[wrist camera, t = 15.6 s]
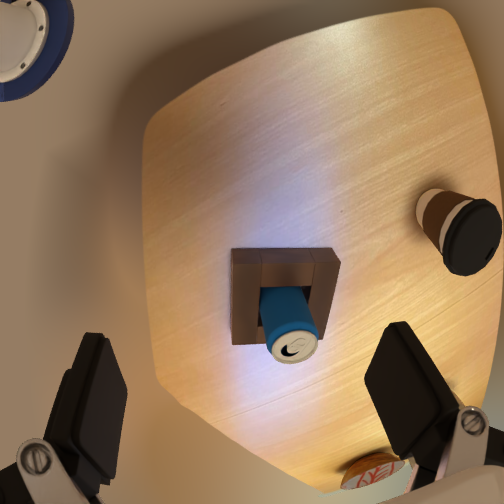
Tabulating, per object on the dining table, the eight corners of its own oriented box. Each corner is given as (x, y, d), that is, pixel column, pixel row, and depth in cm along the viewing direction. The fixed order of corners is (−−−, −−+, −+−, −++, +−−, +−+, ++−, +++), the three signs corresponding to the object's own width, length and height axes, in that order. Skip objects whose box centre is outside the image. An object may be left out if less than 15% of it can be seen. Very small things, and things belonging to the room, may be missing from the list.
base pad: (230, 327, 49) (231, 345, 45) (231, 248, 42) (232, 263, 38) (316, 323, 50) (322, 339, 47) (331, 247, 43) (341, 262, 40)
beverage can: (247, 293, 46) (256, 353, 35) (278, 263, 44) (297, 320, 33) (278, 313, 48) (293, 372, 38) (308, 287, 46) (331, 343, 36)
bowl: (322, 470, 88) (327, 488, 81) (384, 439, 81) (391, 458, 74) (354, 475, 98) (358, 490, 91) (406, 447, 92) (413, 463, 85)
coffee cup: (464, 195, 41) (513, 227, 31) (430, 249, 46) (472, 289, 35) (427, 159, 38) (483, 186, 28) (389, 220, 42) (434, 262, 32)
